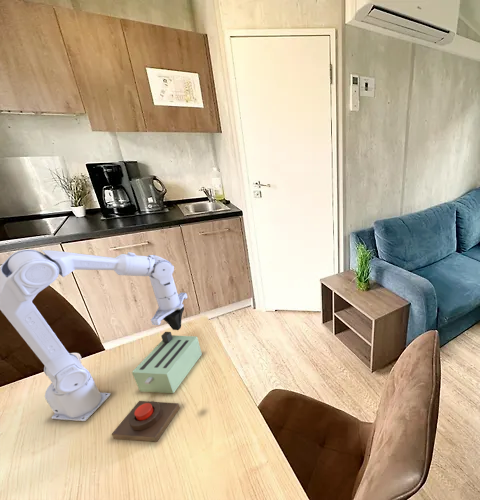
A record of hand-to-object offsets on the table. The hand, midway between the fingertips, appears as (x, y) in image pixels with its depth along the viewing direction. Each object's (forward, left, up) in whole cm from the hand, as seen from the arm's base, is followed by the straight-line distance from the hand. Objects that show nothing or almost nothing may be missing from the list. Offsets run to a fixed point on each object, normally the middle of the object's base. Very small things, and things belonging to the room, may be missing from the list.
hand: (176, 328), depth 93 cm
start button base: (+7, -26, -8) cm, 28 cm away
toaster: (+3, -10, -8) cm, 13 cm away
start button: (+7, -26, -5) cm, 27 cm away
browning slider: (0, -5, -1) cm, 5 cm away
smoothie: (-21, -17, -8) cm, 28 cm away
